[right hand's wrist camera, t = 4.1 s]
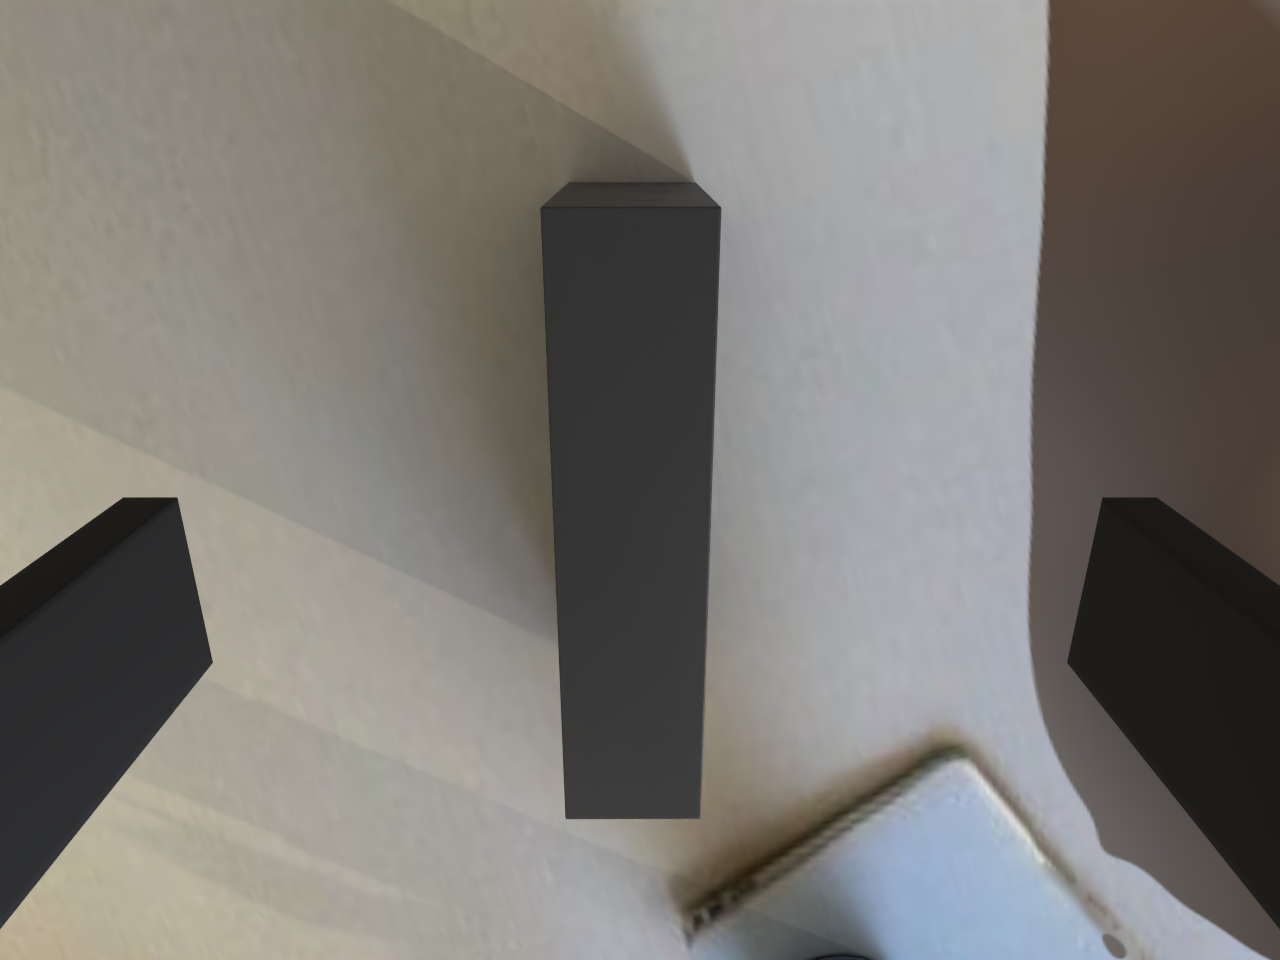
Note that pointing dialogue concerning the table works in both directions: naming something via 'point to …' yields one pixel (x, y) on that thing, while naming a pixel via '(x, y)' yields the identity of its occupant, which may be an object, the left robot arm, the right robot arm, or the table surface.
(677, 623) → the box
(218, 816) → the table surface
